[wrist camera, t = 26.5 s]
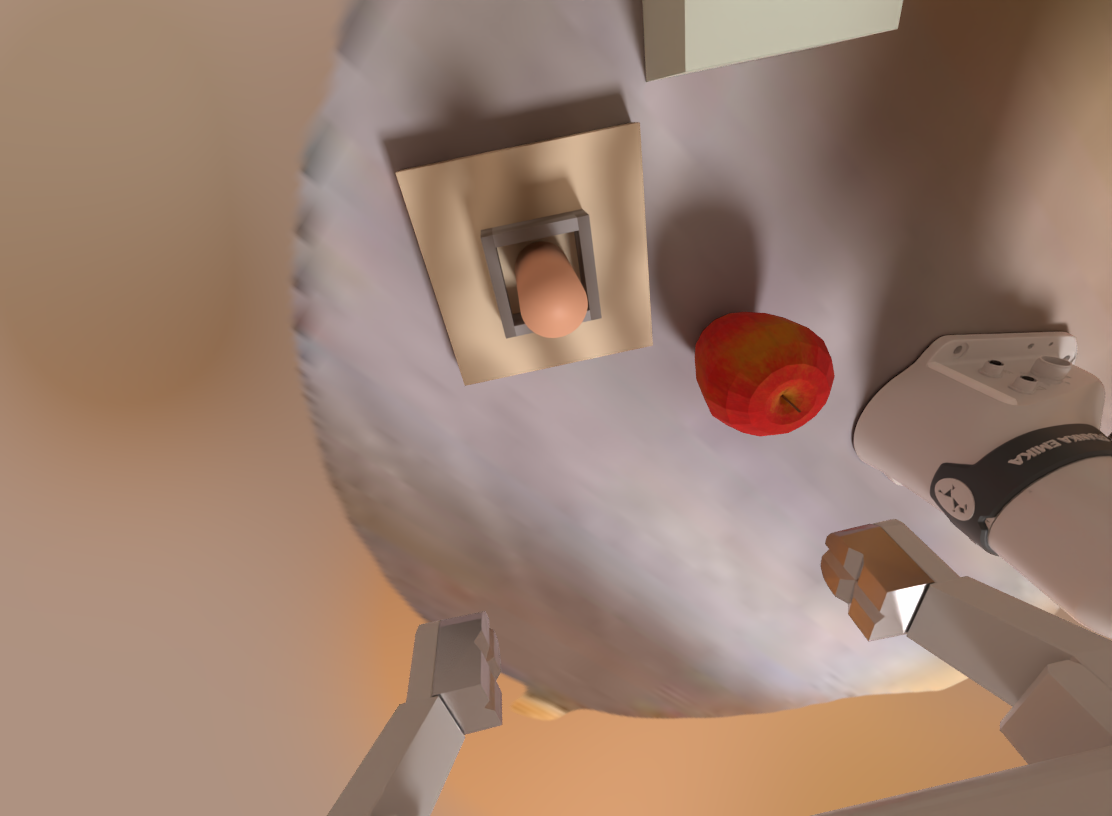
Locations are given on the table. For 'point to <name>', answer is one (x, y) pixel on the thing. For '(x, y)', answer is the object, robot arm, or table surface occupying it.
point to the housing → (751, 29)
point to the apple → (762, 372)
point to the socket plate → (524, 218)
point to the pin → (549, 291)
